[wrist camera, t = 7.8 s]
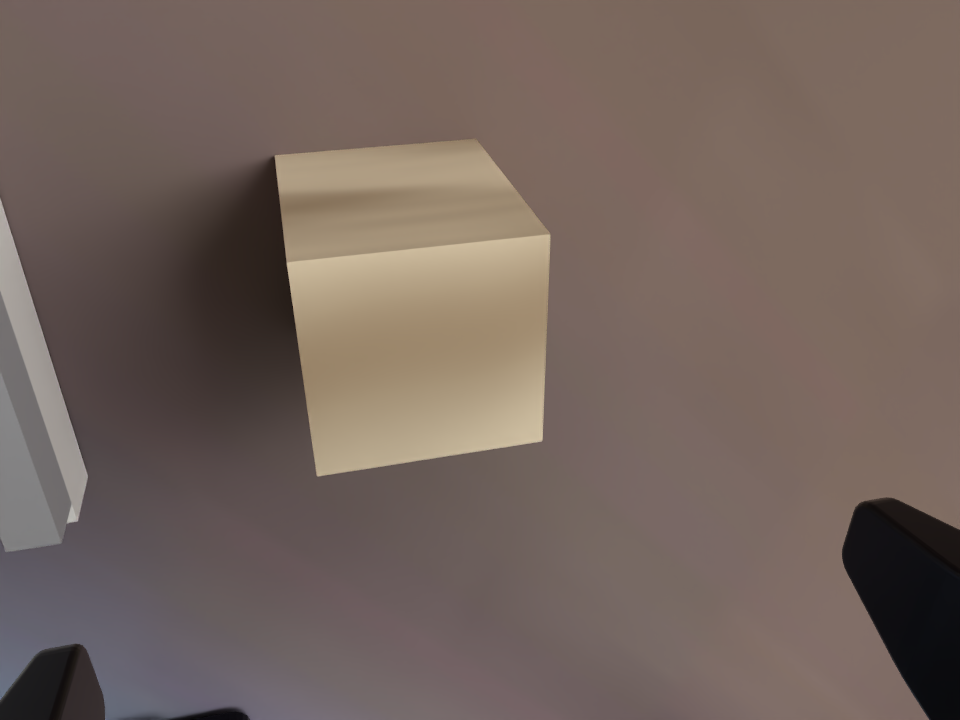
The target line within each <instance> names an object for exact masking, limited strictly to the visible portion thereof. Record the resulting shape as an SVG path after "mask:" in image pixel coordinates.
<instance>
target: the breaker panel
mask: <svg viewBox="0 0 960 720" xmlns="http://www.w3.org/2000/svg"><path fill="white" fill-rule="evenodd" d="M87 479H88V475H87V472H86V469H85V465H84V462H83V459H82V456H81V453H80V450H79V446H78V443H77V440H76V437H75V434H74V430H73V427H72V424H71V421H70V418H69V415H68V411H67V408H66V405H65V402H64V399H63V396H62V392H61V389H60V386H59V383H58V380H57V377H56V373H55V370H54V367H53V364H52V361H51V358H50V354H49V351H48V348H47V345H46V342H45V339H44V335H43V332H42V329H41V326H40V323H39V320H38V316H37V313H36V310H35V307H34V304H33V301H32V297H31V294H30V291H29V288H28V285H27V282H26V278H25V275H24V272H23V269H22V266H21V263H20V259H19V256H18V253H17V250H16V247H15V244H14V240H13V237H12V234H11V231H10V228H9V225H8V221H7V218H6V215H5V212H4V209H3V206H2V202H1V199H0V538H1V541H2V543H3V546H4V548H5V551H6V552H11V551H18V550H24V549H30V548H37V547H43V546H49V545H56V544H62V540H63V536H64V532H65V528H66V524H67V523H71V522H77V521H78V518H79V514H80V509H81V505H82V501H83V496H84V492H85V488H86V483H87Z"/></svg>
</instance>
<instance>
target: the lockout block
mask: <svg viewBox="0 0 960 720" xmlns="http://www.w3.org/2000/svg"><path fill="white" fill-rule="evenodd" d="M275 163H276V172H277V181H278V190H279V199H280V208H281V216H282V225H283V234H284V243H285V252H286V261H287V268H288V275H289V282H290V289H291V296H292V304H293V311H294V318H295V325H296V332H297V339H298V346H299V353H300V360H301V367H302V374H303V381H304V388H305V396H306V403H307V410H308V417H309V424H310V431H311V438H312V445H313V452H314V459H315V466H316V473H317V476H323V475H330V474H336V473H343V472H349V471H355V470H362V469H368V468H375V467H381V466H387V465H394V464H400V463H406V462H413V461H419V460H426V459H432V458H438V457H445V456H451V455H458V454H464V453H470V452H477V451H483V450H490V449H496V448H502V447H509V446H515V445H521V444H528V443H534V442H541V441H542V437H543V411H544V386H545V360H546V335H547V309H548V284H549V258H550V233H549V232H548V230H547V229H546V228H545V227H544V225H543V224H542V223H541V221H540V220H539V219H538V218H537V216H536V215H535V214H534V213H533V211H532V210H531V209H530V207H529V206H528V205H527V204H526V202H525V201H524V200H523V198H522V197H521V196H520V195H519V193H518V192H517V191H516V189H515V188H514V187H513V186H512V184H511V183H510V182H509V181H508V179H507V178H506V177H505V175H504V174H503V173H502V172H501V170H500V169H499V168H498V166H497V165H496V164H495V163H494V161H493V160H492V159H491V158H490V156H489V155H488V154H487V152H486V151H485V150H484V149H483V147H482V146H481V145H480V143H479V142H478V141H477V140H476V139H467V140H455V141H443V142H431V143H419V144H407V145H394V146H382V147H370V148H358V149H346V150H334V151H322V152H309V153H297V154H285V155H275Z"/></svg>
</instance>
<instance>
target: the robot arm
mask: <svg viewBox="0 0 960 720" xmlns="http://www.w3.org/2000/svg"><path fill="white" fill-rule="evenodd" d="M842 559H843V564H844V567H845V569H846V572H847V574H848V575H849V577H850V579H851V581H852V583H853V585H854V587H855V589H856V591H857V593H858V595H859V596H860V598H861V600H862V602H863V604H864V606H865V608H866V610H867V612H868V614H869V616H870V618H871V619H872V621H873V623H874V625H875V627H876V629H877V631H878V633H879V635H880V637H881V639H882V640H883V642H884V644H885V646H886V648H887V650H888V652H889V654H890V656H891V658H892V660H893V661H894V663H895V665H896V667H897V668H898V670H899V672H900V674H901V676H902V677H903V679H904V681H905V682H906V684H907V686H908V687H909V689H910V690H911V692H912V694H913V695H914V697H915V698H916V700H917V701H918V703H919V705H920V706H921V708H922V709H923V711H924V712H925V714H926V715H927V717H928V718H929V720H960V530H959V529H957V528H955V527H953V526H951V525H948V524H946V523H944V522H942V521H940V520H938V519H936V518H934V517H932V516H930V515H928V514H926V513H924V512H922V511H919V510H917V509H915V508H913V507H911V506H909V505H907V504H905V503H903V502H901V501H899V500H896V499H894V498H880V499H874V500H869V501H864V502H861V503H859V504H858V505H857V507H856V508H855V510H854V512H853V516H852V519H851V522H850V525H849V529H848V532H847V535H846V538H845V542H844V545H843V549H842ZM0 720H105V706H104V698H103V694H102V691H101V688H100V685H99V682H98V680H97V677H96V674H95V671H94V669H93V666H92V663H91V661H90V658H89V655H88V653H87V650H86V649H85V648H84V647H83V645H80V644H72V645H66V646H61V647H55V648H49V649H45V650H42V651H40V652H39V653H38V654H36V655H35V656H34V657H33V659H32V660H31V661H30V662H29V664H28V665H27V666H26V668H25V669H24V670H23V671H22V673H21V674H20V675H19V677H18V678H17V679H16V681H15V682H14V683H13V684H12V686H11V687H10V688H9V690H8V691H7V692H6V694H5V695H4V696H3V697H2V699H1V700H0ZM195 720H250V719H249V717H248V716H247V715H245V714H243V713H239V712H229V713H224V714H219V715H214V716H210V717H205V718H200V719H195Z"/></svg>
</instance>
